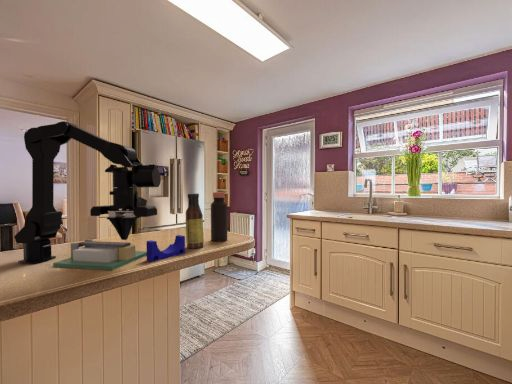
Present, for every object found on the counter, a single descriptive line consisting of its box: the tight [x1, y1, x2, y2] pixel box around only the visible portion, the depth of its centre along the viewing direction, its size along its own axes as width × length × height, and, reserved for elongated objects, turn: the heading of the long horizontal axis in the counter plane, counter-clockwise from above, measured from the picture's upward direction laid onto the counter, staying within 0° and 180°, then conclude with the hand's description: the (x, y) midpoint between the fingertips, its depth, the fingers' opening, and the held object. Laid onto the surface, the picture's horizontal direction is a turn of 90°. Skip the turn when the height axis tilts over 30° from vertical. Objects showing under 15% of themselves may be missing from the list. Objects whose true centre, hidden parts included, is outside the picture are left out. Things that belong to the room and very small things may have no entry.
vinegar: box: [210, 191, 228, 242], centre depth 106 cm, size 7×7×20 cm
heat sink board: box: [52, 238, 147, 271], centre depth 77 cm, size 19×16×6 cm
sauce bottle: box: [185, 192, 205, 249], centre depth 94 cm, size 7×6×20 cm
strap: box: [78, 240, 132, 248], centre depth 78 cm, size 17×3×1 cm, turn 79°
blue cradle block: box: [146, 234, 186, 263], centre depth 82 cm, size 12×4×6 cm, turn 144°
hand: (124, 239), depth 76 cm, fingers closed
